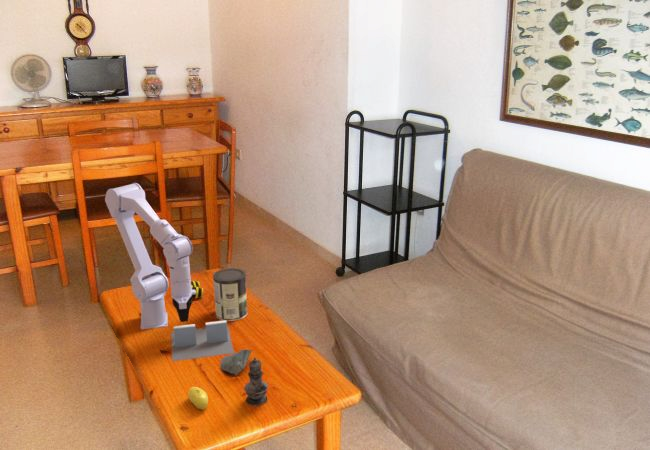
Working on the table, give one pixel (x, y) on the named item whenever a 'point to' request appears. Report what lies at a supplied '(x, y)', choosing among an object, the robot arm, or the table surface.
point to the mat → (201, 347)
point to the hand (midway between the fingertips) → (184, 320)
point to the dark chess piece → (256, 385)
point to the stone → (235, 362)
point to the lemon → (198, 397)
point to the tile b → (216, 331)
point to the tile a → (185, 335)
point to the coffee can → (230, 294)
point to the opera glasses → (196, 287)
